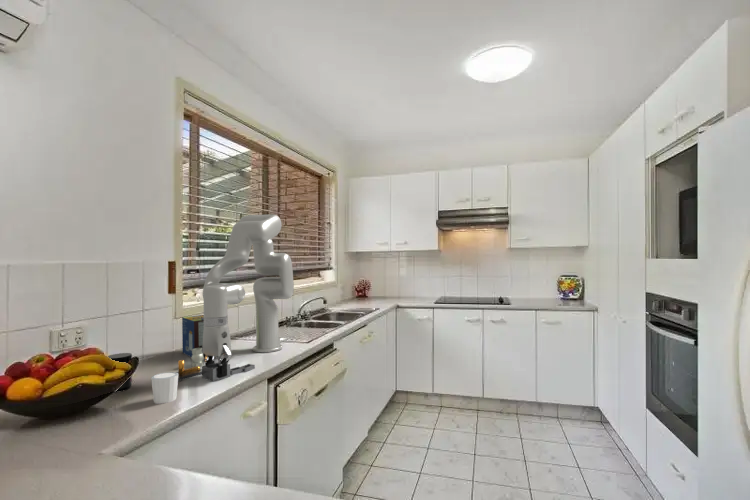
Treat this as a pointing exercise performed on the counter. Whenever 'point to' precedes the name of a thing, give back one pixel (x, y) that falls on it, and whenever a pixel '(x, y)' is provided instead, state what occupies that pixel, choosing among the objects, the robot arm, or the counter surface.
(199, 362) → the valve
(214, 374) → the end link
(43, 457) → the counter surface
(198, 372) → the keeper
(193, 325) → the protein box
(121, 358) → the supplement container
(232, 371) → the chain tail
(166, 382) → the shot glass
